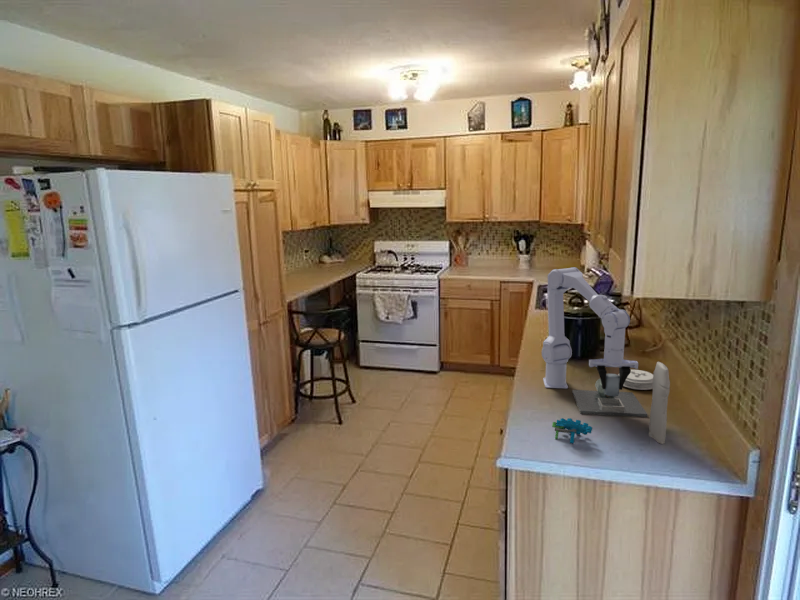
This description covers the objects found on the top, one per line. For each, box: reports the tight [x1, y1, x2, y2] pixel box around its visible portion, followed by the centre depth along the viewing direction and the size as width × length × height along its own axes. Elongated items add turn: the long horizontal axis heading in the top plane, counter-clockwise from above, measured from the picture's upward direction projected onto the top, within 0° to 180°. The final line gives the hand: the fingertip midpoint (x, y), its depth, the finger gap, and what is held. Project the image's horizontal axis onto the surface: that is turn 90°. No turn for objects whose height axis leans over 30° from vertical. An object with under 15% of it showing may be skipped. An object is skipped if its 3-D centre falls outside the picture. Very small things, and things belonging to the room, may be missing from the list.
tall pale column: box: [648, 361, 671, 445], centre depth 142 cm, size 11×4×22 cm, turn 170°
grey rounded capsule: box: [604, 373, 620, 396], centre depth 161 cm, size 4×4×6 cm
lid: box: [617, 369, 654, 391], centre depth 183 cm, size 13×13×5 cm
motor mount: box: [572, 378, 648, 418], centre depth 167 cm, size 18×20×6 cm
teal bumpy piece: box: [551, 417, 593, 445], centre depth 143 cm, size 11×6×10 cm
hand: (611, 388), depth 162 cm, fingers closed on grey rounded capsule, 4 cm apart
